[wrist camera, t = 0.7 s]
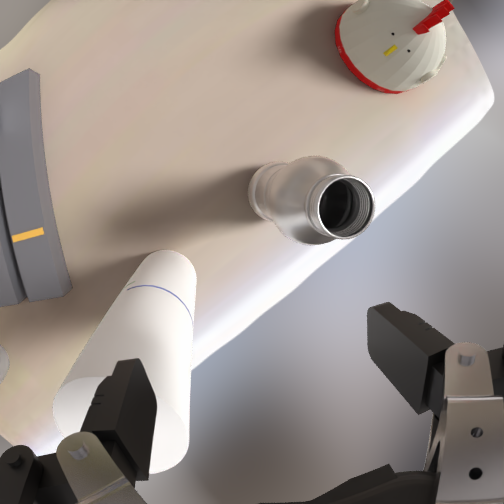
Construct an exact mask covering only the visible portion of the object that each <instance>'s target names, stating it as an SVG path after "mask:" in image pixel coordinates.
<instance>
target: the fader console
mask: <svg viewBox="0 0 504 504" xmlns="http://www.w3.org/2000/svg"><path fill="white" fill-rule="evenodd" d="M71 289H72V284H71V281H70V278H69V274H68V270H67V267H66V263H65V259H64V255H63V251H62V247H61V243H60V239H59V235H58V230H57V226H56V221H55V216H54V211H53V206H52V200H51V195H50V189H49V183H48V176H47V169H46V161H45V153H44V144H43V134H42V121H41V104H40V74H38V73H37V72H35V71H33V70H31V69H30V68H29V69H27V70H24V71H22V72H20V73H18V74H16V75H14V76H12V77H10V78H8V79H6V80H4V81H2V82H0V307H3V306H9V305H15V304H19V303H20V302H21V301H23V300H24V299H25V298H27V297H28V299H29V302H33V301H39V300H45V299H51V298H57V297H63V296H65V295H66V294H67V293H68V292H69V291H70V290H71Z"/></svg>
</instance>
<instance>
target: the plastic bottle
mask: <svg viewBox="0 0 504 504" xmlns="http://www.w3.org/2000/svg"><path fill="white" fill-rule="evenodd" d="M248 199H249V203H250V205H251V207H252V209H253V210H254V212H255V213H256V214H257V215H258V216H260V217H261V218H263V219H265V220H268V221H272V222H274V223H275V225H276V226H277V228H278V229H279V230H280V232H281V233H283V234H284V235H285V236H286V237H287V238H289V239H290V240H292V241H294V242H297V243H300V244H304V245H319V244H324V243H327V242H331V241H333V240H335V239H350V238H354V237H356V236H358V235H360V234H361V233H362V232H364V231H365V230H366V229H367V227H368V226H369V225H370V223H371V221H372V219H373V216H374V212H375V199H374V196H373V193H372V191H371V189H370V187H369V186H368V185H367V184H366V183H365V182H364V181H363V180H361V179H359V178H357V177H355V176H351V174H350V173H349V172H348V171H347V170H346V169H345V168H344V167H343V166H342V165H340V164H339V163H337V162H336V161H334V160H332V159H330V158H327V157H322V156H308V157H303V158H300V159H298V160H295V161H293V162H291V163H287V162H272V163H268V164H266V165H264V166H262V167H261V168H260V169H258V170H257V171H256V173H255V174H254V175H253V177H252V178H251V180H250V183H249V187H248Z"/></svg>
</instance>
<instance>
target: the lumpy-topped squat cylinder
mask: <svg viewBox="0 0 504 504" xmlns="http://www.w3.org/2000/svg"><path fill="white" fill-rule="evenodd" d="M9 365H10V362H9V357H8V354H7V352H6V350H5V349H4V348H3V347H2V346H1V345H0V384H1V382H2V381H3V380H4V378H5V376H6V374H7V372H8V369H9Z"/></svg>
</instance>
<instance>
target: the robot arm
mask: <svg viewBox="0 0 504 504" xmlns="http://www.w3.org/2000/svg"><path fill="white" fill-rule="evenodd" d="M367 336H368V351H369V354H370V357H371V359H372V360H373V361H374V363H375V364H376V365H377V366H378V368H379V369H380V370H381V371H382V372H383V373H384V375H385V376H386V377H387V378H388V379H389V381H390V382H391V383H392V384H393V385H394V386H395V387H396V389H397V390H398V391H399V392H400V394H401V395H402V396H403V397H404V398H405V400H406V401H407V402H408V403H409V404H410V406H411V407H412V408H413V409H414V410H415V412H416V413H417V414H418V415H419V414H421V413H424V412H426V411H428V410H430V409H431V410H432V411H433V416H432V421H431V429H430V437H429V443H428V450H427V456H426V461H425V466H424V470H423V471H406V472H398V473H394V471H393V469H392V468H391V466H390V465H389V464H387V465H385V466H383V467H380V468H378V469H375V470H373V471H370V472H368V473H365V474H363V475H360V476H357V477H354V478H351V479H349V480H348V481H346V482H344V483H342V484H341V485H339V486H337V487H336V488H334V489H332V490H330V491H328V492H327V493H325V494H323V495H321V496H319V497H317V498H315V499H313V500H311V501H306V502H289V503H259V504H504V345H503V348H498V349H495V350H490V351H486V350H485V349H484V348H483V347H481V346H480V345H477V344H474V343H470V342H462V343H457V344H454V343H453V342H452V341H450V340H449V339H448V338H446V337H445V336H444V335H443V334H441V333H440V332H438V331H437V330H436V329H435V328H432V326H431V325H429V324H428V323H425V321H424V320H423V319H421V318H420V317H418V316H417V315H415V314H412V313H409V312H406V311H400V310H399V309H398V308H396V307H395V306H394V305H393V304H391V303H390V302H386V303H383V304H379V305H376V306H373V307H370V308H369V309H368V312H367ZM156 415H157V400H156V396H155V393H154V390H153V388H152V386H151V383H150V381H149V379H148V376H147V374H146V371H145V369H144V366H143V364H142V362H141V360H140V359H139V358H134V359H127V360H120V361H117V363H116V366H115V368H114V371H113V373H112V376H107V377H106V378H105V379H104V380H103V381H102V382H101V383H100V384H99V385H98V387H97V389H96V392H95V394H94V397H93V399H92V401H91V405H90V406H89V409H88V411H87V414H86V416H85V419H84V422H83V424H82V427H81V429H80V432H77V433H73V434H71V435H69V436H67V437H66V438H65V439H63V440H62V441H61V443H60V444H59V446H58V448H57V451H56V453H52V454H48V455H43V456H38V457H37V456H36V455H35V454H34V452H33V451H32V450H31V449H30V448H29V447H27V446H25V445H17V446H14V447H11V448H10V449H8V450H6V451H5V452H4V453H3V454H2V456H1V457H0V504H147V503H146V502H145V501H144V500H143V498H142V497H141V496H140V495H139V494H138V493H137V491H136V490H135V481H142V480H143V481H145V480H148V478H149V469H150V460H151V452H152V444H153V436H154V429H155V422H156Z"/></svg>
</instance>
